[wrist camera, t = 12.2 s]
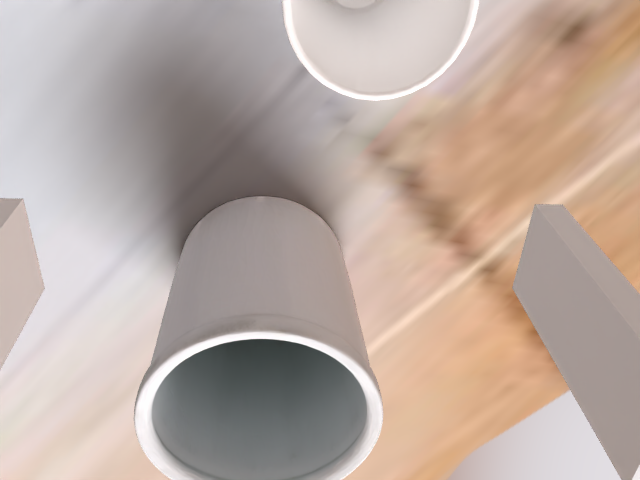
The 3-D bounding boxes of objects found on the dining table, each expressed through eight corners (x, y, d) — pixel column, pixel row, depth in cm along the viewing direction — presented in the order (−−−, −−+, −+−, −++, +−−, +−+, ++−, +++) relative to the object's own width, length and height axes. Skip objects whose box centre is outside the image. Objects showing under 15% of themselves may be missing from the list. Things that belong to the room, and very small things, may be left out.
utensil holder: (223, 153, 45) (198, 293, 30) (385, 234, 50) (432, 389, 35) (146, 292, 51) (94, 464, 36) (296, 352, 56) (305, 526, 41)
